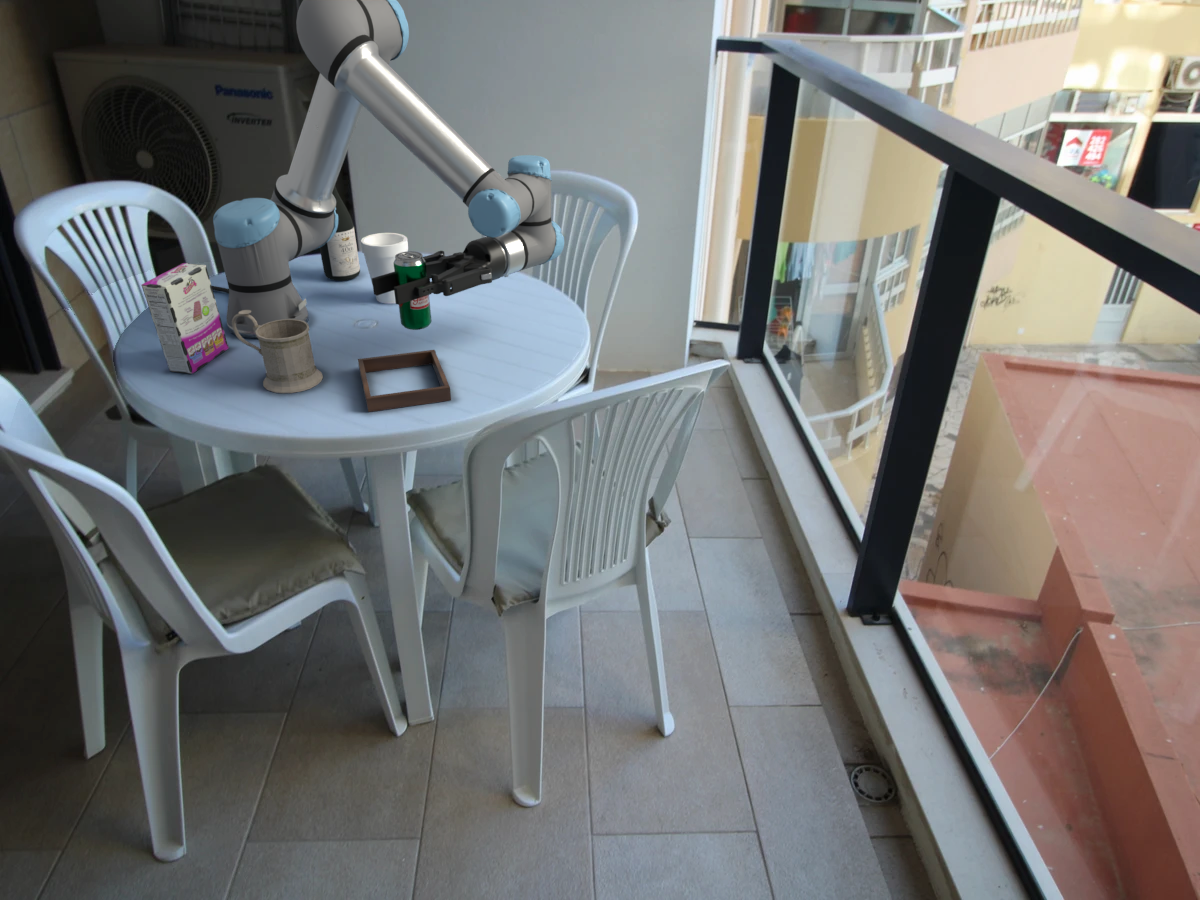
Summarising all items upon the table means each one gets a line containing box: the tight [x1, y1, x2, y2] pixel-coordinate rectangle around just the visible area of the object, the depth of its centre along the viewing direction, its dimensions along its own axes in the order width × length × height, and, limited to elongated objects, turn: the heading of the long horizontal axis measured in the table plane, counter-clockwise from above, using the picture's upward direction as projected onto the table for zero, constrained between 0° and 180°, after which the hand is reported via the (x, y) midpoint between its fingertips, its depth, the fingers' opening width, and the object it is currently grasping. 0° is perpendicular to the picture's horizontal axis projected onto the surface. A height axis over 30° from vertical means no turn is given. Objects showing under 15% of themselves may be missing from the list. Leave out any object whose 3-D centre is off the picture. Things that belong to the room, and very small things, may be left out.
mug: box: [232, 310, 324, 394], centre depth 133 cm, size 14×10×12 cm
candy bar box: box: [140, 262, 230, 375], centre depth 137 cm, size 11×5×16 cm, turn 168°
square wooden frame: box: [357, 349, 452, 413], centre depth 134 cm, size 16×14×2 cm
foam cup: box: [360, 232, 409, 305], centre depth 165 cm, size 10×9×13 cm
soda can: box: [394, 250, 433, 331], centre depth 127 cm, size 5×5×12 cm
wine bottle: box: [319, 185, 361, 282], centre depth 172 cm, size 8×8×30 cm
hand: (385, 291), depth 123 cm, fingers closed on soda can, 5 cm apart
